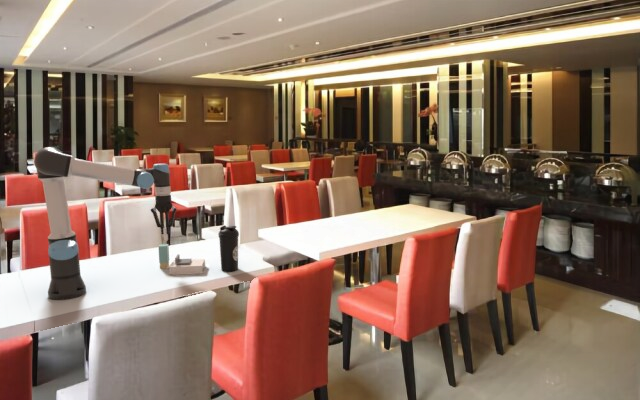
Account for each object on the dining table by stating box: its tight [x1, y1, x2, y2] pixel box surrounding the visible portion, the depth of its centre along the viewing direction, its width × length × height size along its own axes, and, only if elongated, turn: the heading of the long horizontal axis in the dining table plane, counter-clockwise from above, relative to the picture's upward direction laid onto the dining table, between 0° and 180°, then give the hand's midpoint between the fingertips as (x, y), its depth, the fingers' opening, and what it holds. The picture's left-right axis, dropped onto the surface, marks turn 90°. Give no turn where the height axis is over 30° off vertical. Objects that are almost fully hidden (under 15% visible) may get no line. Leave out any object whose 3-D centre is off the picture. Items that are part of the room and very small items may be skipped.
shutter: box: [174, 254, 192, 265], centre depth 250 cm, size 7×7×3 cm
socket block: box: [168, 258, 206, 275], centre depth 251 cm, size 16×12×4 cm
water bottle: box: [218, 225, 240, 273], centre depth 251 cm, size 10×10×23 cm
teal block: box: [158, 243, 170, 269], centre depth 255 cm, size 4×4×12 cm
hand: (166, 240), depth 248 cm, fingers closed
